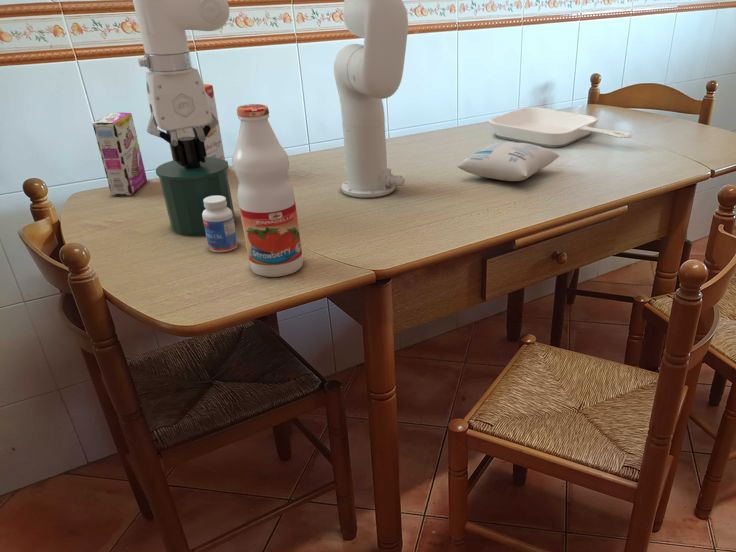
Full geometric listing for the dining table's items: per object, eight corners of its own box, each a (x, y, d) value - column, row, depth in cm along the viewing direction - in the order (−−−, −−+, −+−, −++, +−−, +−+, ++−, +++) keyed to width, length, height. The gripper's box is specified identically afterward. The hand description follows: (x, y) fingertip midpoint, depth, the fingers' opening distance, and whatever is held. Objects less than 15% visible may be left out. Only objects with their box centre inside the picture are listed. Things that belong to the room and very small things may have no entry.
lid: (241, 164, 136) (235, 131, 133) (206, 185, 125) (199, 150, 122) (181, 160, 139) (174, 128, 135) (142, 180, 127) (133, 145, 124)
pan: (527, 120, 218) (528, 105, 216) (648, 140, 197) (650, 125, 195) (481, 136, 200) (481, 121, 197) (609, 161, 179) (611, 144, 176)
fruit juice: (297, 253, 126) (276, 98, 111) (308, 272, 118) (287, 110, 104) (246, 261, 122) (217, 103, 108) (255, 282, 115) (225, 115, 100)
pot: (245, 216, 142) (236, 163, 136) (215, 238, 131) (204, 181, 125) (193, 212, 144) (181, 159, 138) (159, 233, 134) (145, 177, 127)
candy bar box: (133, 196, 152) (114, 123, 143) (111, 196, 152) (90, 123, 143) (149, 181, 162) (131, 111, 153) (128, 181, 161) (109, 111, 152)
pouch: (495, 131, 174) (456, 145, 159) (561, 143, 167) (528, 160, 152) (493, 161, 179) (455, 178, 163) (558, 174, 171) (524, 193, 156)
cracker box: (199, 186, 158) (180, 94, 147) (177, 184, 159) (156, 93, 148) (229, 169, 170) (213, 83, 159) (207, 168, 171) (190, 82, 160)
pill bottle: (202, 250, 126) (192, 201, 121) (221, 240, 131) (211, 192, 125) (226, 255, 125) (216, 205, 120) (244, 244, 129) (235, 196, 124)
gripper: (128, 70, 114) (154, 175, 124) (221, 61, 123) (239, 159, 133) (116, 64, 119) (142, 165, 129) (206, 56, 128) (224, 151, 138)
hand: (191, 161), depth 131 cm, fingers closed on lid, 3 cm apart
